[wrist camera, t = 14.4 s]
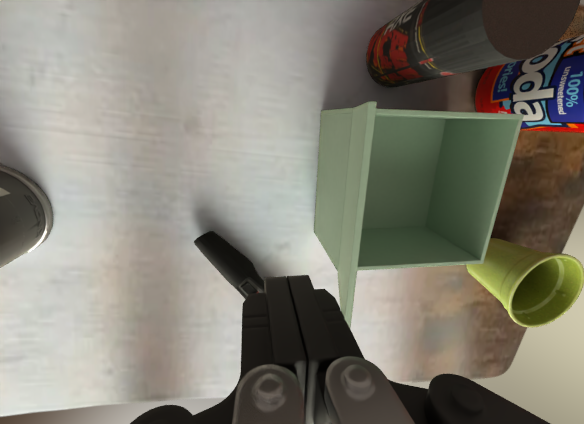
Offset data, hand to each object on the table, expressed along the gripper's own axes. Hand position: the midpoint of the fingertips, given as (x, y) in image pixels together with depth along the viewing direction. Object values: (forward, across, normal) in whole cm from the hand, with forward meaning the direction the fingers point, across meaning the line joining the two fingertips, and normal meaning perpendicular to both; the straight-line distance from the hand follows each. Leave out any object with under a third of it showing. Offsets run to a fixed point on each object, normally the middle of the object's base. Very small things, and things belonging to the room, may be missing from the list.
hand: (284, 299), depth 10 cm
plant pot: (+23, -31, +12) cm, 40 cm away
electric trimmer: (+22, +2, +13) cm, 26 cm away
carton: (+22, -14, 0) cm, 26 cm away
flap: (+9, -6, 0) cm, 10 cm away
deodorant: (+23, -14, -12) cm, 29 cm away
